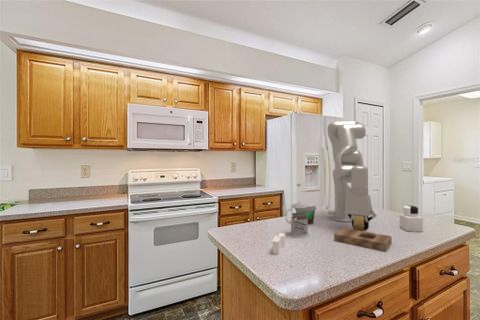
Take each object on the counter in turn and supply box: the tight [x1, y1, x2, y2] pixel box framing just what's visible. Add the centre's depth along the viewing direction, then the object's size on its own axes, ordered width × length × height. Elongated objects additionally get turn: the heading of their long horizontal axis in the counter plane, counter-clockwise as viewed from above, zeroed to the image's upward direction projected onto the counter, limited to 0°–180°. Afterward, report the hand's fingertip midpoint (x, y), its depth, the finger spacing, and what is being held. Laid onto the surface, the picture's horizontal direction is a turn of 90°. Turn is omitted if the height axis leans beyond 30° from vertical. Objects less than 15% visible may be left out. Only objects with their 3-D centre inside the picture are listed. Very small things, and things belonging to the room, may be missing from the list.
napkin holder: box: [272, 232, 286, 255], centre depth 97 cm, size 15×11×6 cm
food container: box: [293, 205, 317, 225], centre depth 134 cm, size 12×6×10 cm, turn 73°
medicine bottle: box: [399, 205, 424, 233], centre depth 119 cm, size 7×7×12 cm
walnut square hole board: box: [333, 227, 393, 252], centre depth 103 cm, size 20×12×3 cm, turn 48°
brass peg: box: [353, 215, 368, 232], centre depth 115 cm, size 4×4×9 cm
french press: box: [284, 182, 311, 238], centre depth 115 cm, size 10×12×25 cm
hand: (360, 228), depth 115 cm, fingers closed on brass peg, 4 cm apart
